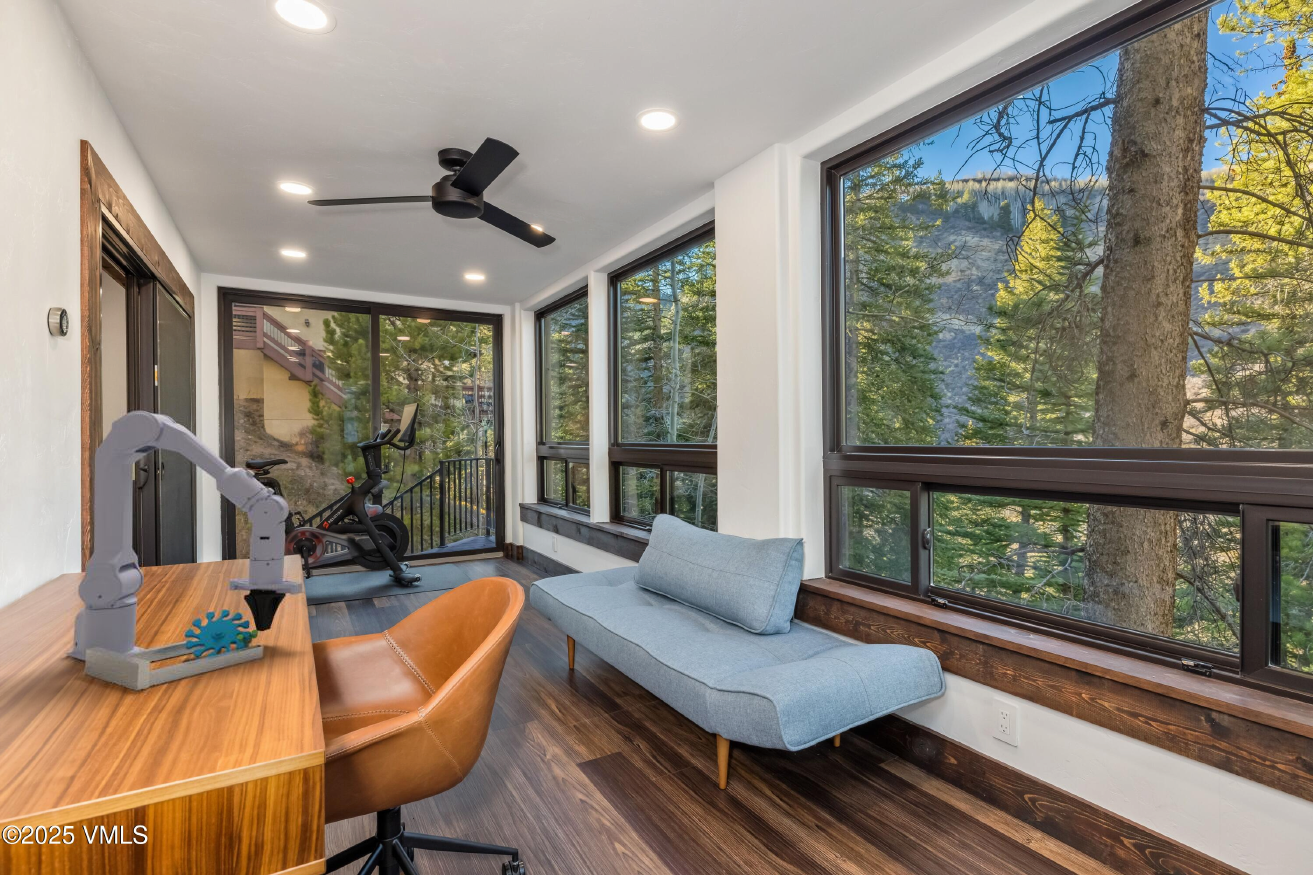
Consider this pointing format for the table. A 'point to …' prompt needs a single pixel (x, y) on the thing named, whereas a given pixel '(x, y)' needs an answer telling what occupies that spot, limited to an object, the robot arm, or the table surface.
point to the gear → (220, 634)
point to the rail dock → (136, 665)
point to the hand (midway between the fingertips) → (263, 629)
